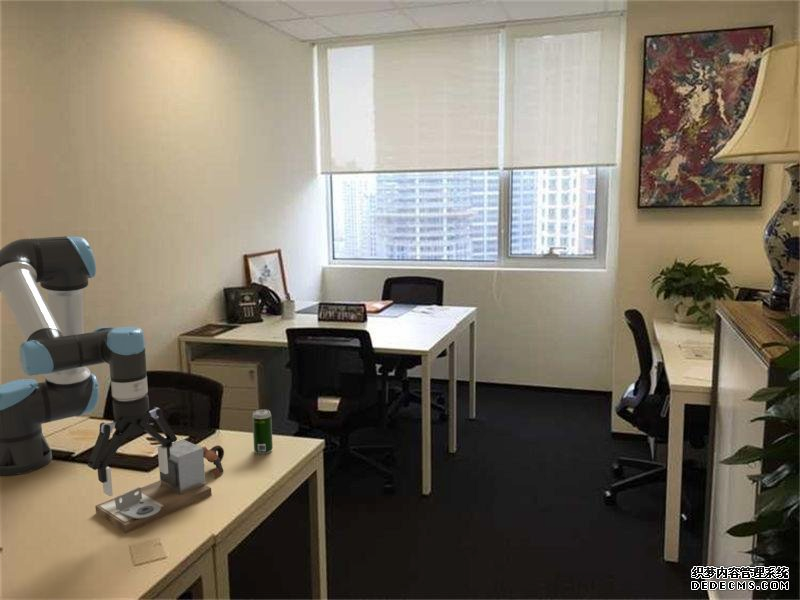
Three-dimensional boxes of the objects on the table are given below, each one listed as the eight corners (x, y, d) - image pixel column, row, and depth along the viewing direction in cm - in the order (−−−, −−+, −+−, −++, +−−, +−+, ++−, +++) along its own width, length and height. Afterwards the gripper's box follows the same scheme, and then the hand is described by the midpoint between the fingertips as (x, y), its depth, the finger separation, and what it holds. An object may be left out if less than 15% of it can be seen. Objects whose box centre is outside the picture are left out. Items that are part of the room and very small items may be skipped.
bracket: (141, 524, 139) (139, 509, 138) (115, 511, 145) (114, 497, 144) (166, 511, 144) (165, 497, 144) (141, 499, 150) (140, 486, 149)
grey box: (158, 485, 157) (155, 448, 156) (185, 474, 163) (182, 439, 162) (178, 496, 152) (175, 458, 150) (205, 484, 158) (203, 447, 156)
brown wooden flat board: (96, 513, 148) (95, 505, 147) (180, 479, 165) (179, 471, 165) (125, 533, 139) (125, 524, 139) (211, 495, 157) (211, 487, 156)
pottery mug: (212, 485, 163) (194, 461, 161) (190, 493, 168) (172, 469, 166) (238, 457, 173) (221, 433, 171) (217, 464, 178) (200, 442, 176)
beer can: (272, 453, 181) (271, 414, 179) (254, 455, 180) (252, 416, 178) (272, 446, 186) (271, 408, 184) (254, 448, 185) (252, 410, 183)
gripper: (81, 415, 128) (90, 509, 132) (188, 385, 147) (193, 468, 151) (65, 407, 132) (74, 498, 137) (171, 379, 152) (176, 459, 156)
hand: (136, 482), depth 144 cm, fingers open, 13 cm apart
